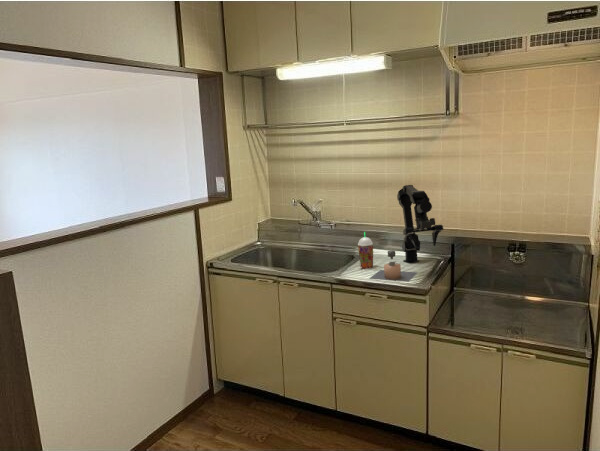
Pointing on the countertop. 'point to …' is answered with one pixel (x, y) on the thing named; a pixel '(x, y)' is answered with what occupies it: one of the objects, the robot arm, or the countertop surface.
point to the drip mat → (404, 277)
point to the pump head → (391, 254)
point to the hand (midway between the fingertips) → (425, 246)
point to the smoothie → (365, 252)
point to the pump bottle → (392, 270)
